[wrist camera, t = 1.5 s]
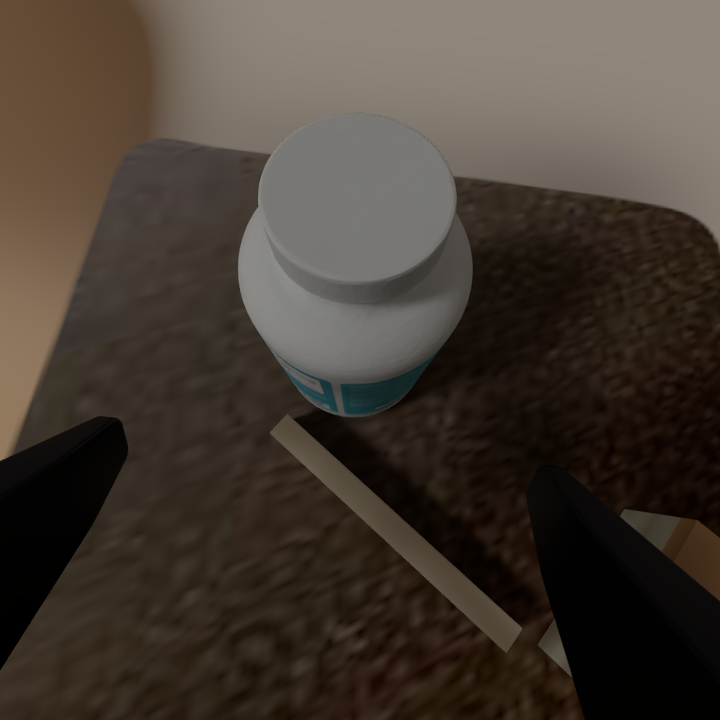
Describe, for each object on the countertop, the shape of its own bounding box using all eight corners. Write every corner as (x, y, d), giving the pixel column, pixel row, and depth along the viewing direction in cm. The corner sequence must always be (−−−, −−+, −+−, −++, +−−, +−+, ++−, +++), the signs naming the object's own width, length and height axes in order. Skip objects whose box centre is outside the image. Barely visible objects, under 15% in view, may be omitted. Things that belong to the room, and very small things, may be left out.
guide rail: (489, 633, 19) (506, 653, 17) (276, 435, 21) (269, 432, 19) (504, 612, 19) (522, 628, 17) (292, 418, 21) (287, 414, 19)
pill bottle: (425, 301, 23) (525, 87, 10) (413, 427, 21) (519, 366, 8) (298, 284, 23) (234, 49, 10) (275, 409, 21) (159, 318, 8)
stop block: (609, 710, 18) (689, 785, 14) (537, 644, 19) (593, 697, 14) (692, 564, 20) (787, 591, 16) (624, 509, 20) (697, 520, 16)
